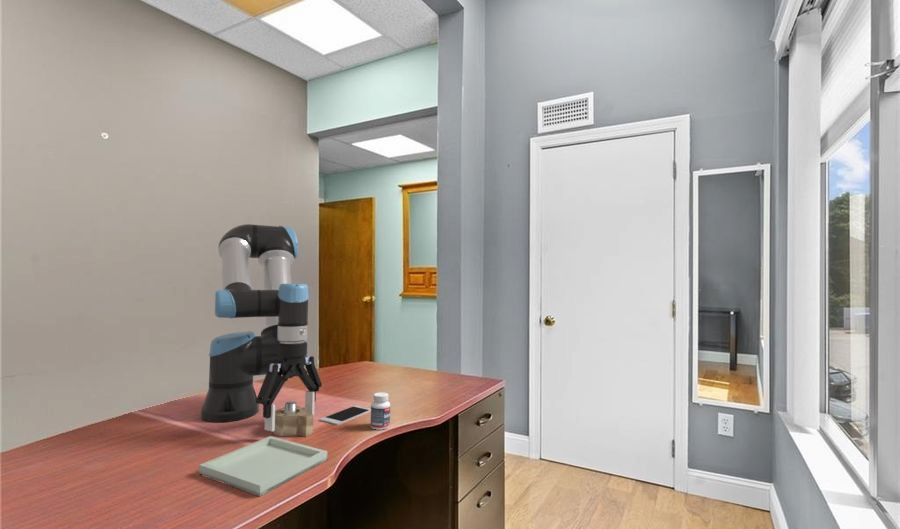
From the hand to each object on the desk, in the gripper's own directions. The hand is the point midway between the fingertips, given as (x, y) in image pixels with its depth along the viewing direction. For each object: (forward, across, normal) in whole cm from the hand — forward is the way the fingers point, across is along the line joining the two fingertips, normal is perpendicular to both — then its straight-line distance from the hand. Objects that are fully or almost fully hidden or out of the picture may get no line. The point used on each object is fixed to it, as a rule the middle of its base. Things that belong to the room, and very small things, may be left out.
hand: (290, 422), depth 115 cm
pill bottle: (+3, +14, -18) cm, 24 cm away
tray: (+3, -18, -12) cm, 21 cm away
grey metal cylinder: (+2, 0, 0) cm, 2 cm away
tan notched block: (+2, 0, -1) cm, 2 cm away
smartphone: (+3, +17, -4) cm, 18 cm away
